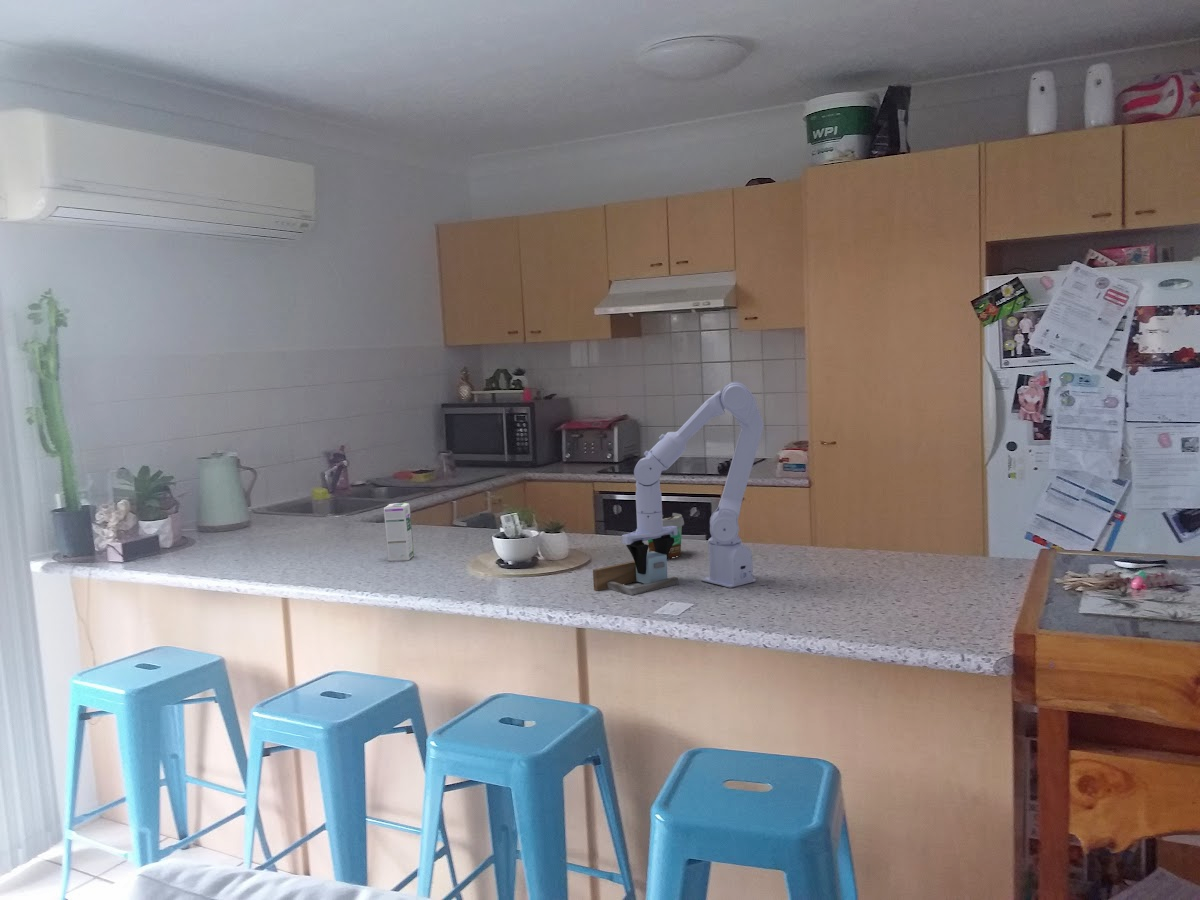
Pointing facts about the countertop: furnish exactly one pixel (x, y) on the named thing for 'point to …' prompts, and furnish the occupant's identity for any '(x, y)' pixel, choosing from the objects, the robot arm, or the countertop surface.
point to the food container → (676, 547)
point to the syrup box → (398, 532)
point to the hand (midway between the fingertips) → (651, 571)
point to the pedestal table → (625, 579)
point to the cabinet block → (654, 568)
